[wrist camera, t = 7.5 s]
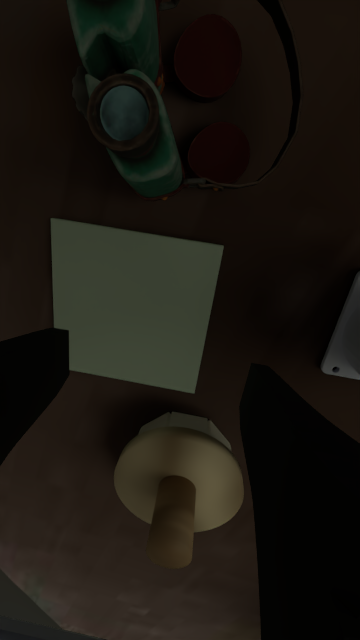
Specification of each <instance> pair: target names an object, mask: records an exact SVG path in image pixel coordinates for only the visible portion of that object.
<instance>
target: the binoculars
mask: <svg viewBox="0 0 360 640" xmlns="http://www.w3.org/2000/svg"><path fill="white" fill-rule="evenodd" d="M66 1H67V6H68V11H69V16H70V21H71V26H72V30H73V34H74V37H75V41H76V45H77V49H78V53H79V55H80V58H81V60H82V63H83V65H82V66H80V65H79V66H78V68H77V69H76V70H77V73H76V75H75V77H73V79H72V84H73V91H72V97H73V99H74V100H75V101H76V107H77V109H78V111H79V112H80V113H81V114H82V115H84V118H85V119H86V120H87V121H88V124H89V127H90V129H91V131H92V133H93V135H94V136H95V138H96V139H97V140H98V141H99V142H100V143H101V144H103V145H104V146H105V147H106V149H107V151H108V153H109V155H110V158H111V160H112V161H113V163H114V165H115V167H116V168H117V170H118V172H119V173H120V175H121V176H122V177H123V178H124V179H125V180H126V181H127V182H128V184H129V186H130V187H131V188H132V190H133V191H134V192H135V194H137V195H138V196H140V197H141V198H142V199H144V200H146V201H156V200H160V199H162V200H166V199H167V198H168V197H171V196H173V195H175V194H176V193H178V192H179V191H180V190H181V189H182V188H188V187H198V188H199V189H207V188H211V189H214V190H215V191H217V190H219V191H224V188H228V189H238V188H243V187H248V186H253V185H256V184H258V183H260V182H261V181H262V180H263V179H265V178H266V177H267V176H268V175H269V174H270V173H272V172H273V171H274V170H275V169H276V168H277V167H278V166H279V164H280V162H281V161H282V159H283V157H284V155H285V154H286V152H287V150H288V148H289V147H290V145H291V143H292V141H293V140H294V138H295V136H296V134H297V132H298V126H299V120H300V113H301V107H302V101H303V85H302V73H301V62H300V57H299V52H298V48H297V43H296V38H295V34H294V30H293V28H292V25H291V23H290V20H289V18H288V15H287V13H286V10H285V8H284V5H283V3H282V0H257V1H258V2H259V3H260V4H261V5H262V6H263V7H264V9H265V10H266V11H267V12H268V13H269V14H270V15H271V17H272V19H273V22H274V24H275V26H276V29H277V31H278V34H279V36H280V38H281V41H282V43H283V46H284V50H285V54H286V58H287V63H288V67H289V71H290V79H291V89H292V99H293V106H292V113H291V120H290V127H289V134H288V138H287V140H286V142H285V144H284V145H283V147H282V149H281V151H280V152H279V154H278V156H277V158H276V160H275V161H274V163H273V165H272V167H271V169H270V170H269V171H267V172H266V173H265V174H264V175H263V176H262V177H260V178H259V179H258V180H257V181H255V182H250V183H245V184H240V185H235V184H233V183H235V182H236V181H237V180H238V178H239V177H240V176H241V175H242V174H243V172H244V171H245V169H246V167H247V165H248V162H249V157H250V149H249V144H248V141H247V138H246V136H245V135H244V133H243V132H242V130H240V129H239V128H238V127H237V126H235V125H233V124H231V123H227V122H217V123H214V124H211V125H209V126H208V127H206V128H204V129H203V130H202V131H201V132H200V133H199V134H198V135H197V136H196V137H195V139H194V140H193V142H192V144H191V145H190V149H189V152H188V157H187V160H181V158H180V154H179V151H178V147H177V144H176V140H175V137H174V133H173V130H172V126H171V124H170V121H169V117H168V114H167V111H166V108H165V105H164V102H163V99H162V96H161V94H162V92H163V89H164V86H165V83H166V82H174V81H175V82H176V84H177V85H178V87H179V88H180V89H181V90H182V92H183V93H184V94H186V95H187V96H189V97H190V98H192V99H194V100H196V101H199V102H204V103H206V102H213V101H216V100H218V99H219V98H221V97H222V96H223V95H224V94H225V93H226V92H227V91H228V90H229V88H230V87H231V86H232V85H233V83H234V82H235V80H236V78H237V76H238V73H239V71H240V66H241V58H242V50H241V43H240V40H239V37H238V34H237V32H236V30H235V28H234V27H233V26H232V24H231V23H230V22H229V21H228V20H226V19H225V18H223V17H222V16H219V15H215V14H211V15H205V16H202V17H200V18H198V19H197V20H195V21H194V22H193V23H192V24H191V25H190V26H189V27H188V28H187V29H186V30H185V31H184V33H183V34H182V36H181V37H180V39H179V42H178V44H177V46H176V50H175V54H174V58H173V64H170V65H164V64H163V63H162V56H161V40H160V24H159V10H161V11H162V10H167V9H172V8H175V7H176V6H177V4H178V2H179V0H171V1H170V2H166V3H161V0H66ZM185 173H189V174H190V175H191V176H192V178H190V179H187V178H186V177H185ZM183 179H184V182H183Z"/></svg>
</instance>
